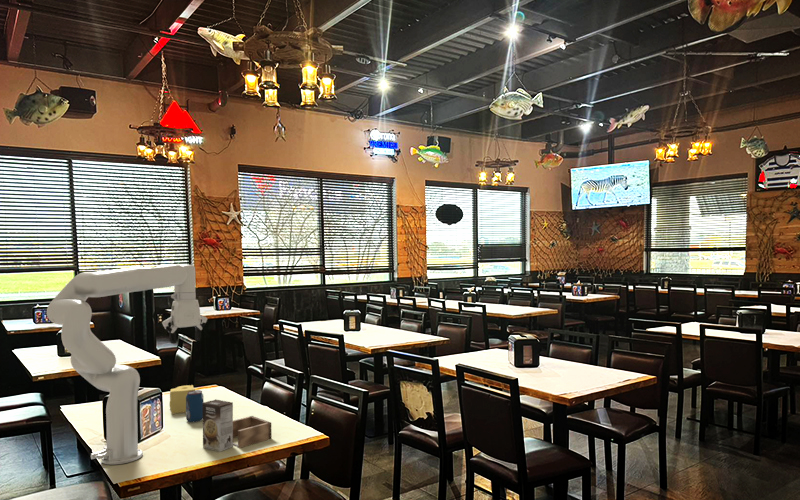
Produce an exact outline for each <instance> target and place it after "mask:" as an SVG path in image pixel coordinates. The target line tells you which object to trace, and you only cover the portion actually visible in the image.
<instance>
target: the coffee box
mask: <svg viewBox="0 0 800 500" xmlns="http://www.w3.org/2000/svg"><path fill="white" fill-rule="evenodd" d="M202 404H203V419H202V448H204V449H207V450H212V451H216V452H219V453H220V452H222V451H225V450H229V449H230V448H232V447H234V445H233V443H234V442H233V441H234V439H233V421H234V417H233V416H234V415H233V414H234V409H233V408H234V403H233V402H231V401H227V400H220V399H213V400H208V401H204V403H202Z"/></svg>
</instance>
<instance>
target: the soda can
mask: <svg viewBox="0 0 800 500" xmlns="http://www.w3.org/2000/svg"><path fill="white" fill-rule="evenodd" d="M204 402H205V401H204V393H203V390H199V389H198V390H196V389H195V391H189V392H188V393H187V396H186V412H185V419H186V421H187V422H188V423H192V424H193V423H199V422H201V421H202V422H203V404H202V403H204Z"/></svg>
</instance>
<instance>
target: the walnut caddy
mask: <svg viewBox="0 0 800 500" xmlns="http://www.w3.org/2000/svg"><path fill="white" fill-rule="evenodd" d="M236 437H237V443H236V442H233V447H234V446H235V447H236V446H237V448H239V449H241V448H245V447H248V446H251V444H252V445H254V444H258V443H261V442H265V441H268V439H269V440H272V439H273V438H272V422H271V421H268V420H265V419H264V418H263V419H262V418H259V417H256V416H254V415H249V416H245V417H243V418H239V419H238V418H237V419H235V420H234V419H233V438H236ZM244 446H245V447H244Z"/></svg>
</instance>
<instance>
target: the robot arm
mask: <svg viewBox="0 0 800 500" xmlns="http://www.w3.org/2000/svg"><path fill="white" fill-rule="evenodd" d="M170 287H174V291H173V294H171V296H170V298H171V299H173V301H172V305H171V311H170V317H168V318H167V319H165V320H163V321H161V324H162V326H163V327H164V330H166V331H167V332H168V333H169V334H168V335H169V342H170V344H173V345H174V344H177V333H176V331H177V329H178V328H180V329H181V328H190V327H194V328H195V329H194V340H195V341H201V338H202V330H203V328H204V327H205V326H206V323H207V322H208V317H206V316H204V315H202V314H201V309H200V304H199V299H197V298H196V297H197V296H196V267H195V266H194V265H193V264H159V265H157V266H155V267H125V268H119V269H111V270H101V271H84V272H80V273H77V275H75V276H74V277H73V278H72V279H71V280H70V281H69V282H68V283H67V284H66V285H65V286H64V287H63V288H62V289H61V290H60V292H58V294H57V295H56V296H55V297H54V298H53V299H52V300H51V302H50V303H49V304H48V306H47V309H46V316H47V318H48V320H49V321H50V322H51V323H53V324H56V325H58V326H59V325H61V335H60V336H61V341H62V345H63V347H64V348H65V349H66V350H67V351H68V353H70V354H71V355H70V363H71V367H72V368H73V370H75V372H77V373H78V375H80V376H81V377H82V378H84V380H86V381H87V382H88V383H89V384H90V385H92V386H93V387H95V388H96V389H97V390H100V391H103V392H108V393H109V395H108V398H107V402H106V408H105V414H106V415H105V417H106V418H105V419H106V421H105V422H106V423H105V424H106V446H103V449H101V450H100V451H96V452H92V453H90V459H91V460H94V459H97V460H101V463H102V464H105V465H122V464H127V463H128V464H129V463H132V462H134V461H137V460H139V459H141V458H142V457H143V454H144V452H143V451H144V450H142V449H141V448H140V449H139V448H138V447H139V443H138V442H139V440H138V439H139V438H138V432H139V431H138V428H139V427H138V395H139V389H140V383H141V377H140V373H139V372H138V370H137V369H136V368H134V367H132V366H130V365H127V364H126V365H125V364H119V363H118V364H117V358H116V354H115V353H114V352H113V350H111V348H109V347H108V346H107V345H106V344H104V343H103V342H102V341H101V339H99V338H98V337H97V336H96V335H95V334H94V333H93V332H92V330H91V319H92V315H93V314H92V313H93V311H92V308H91V306H90V304H89V303H88V302H86V301H87V299H88V298H101V297H102V298H104V297H108V296H116V295H121V294H128V293H134V292H143V291H148V290H156V289H164V288H170ZM169 323H170V326H169Z"/></svg>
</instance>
